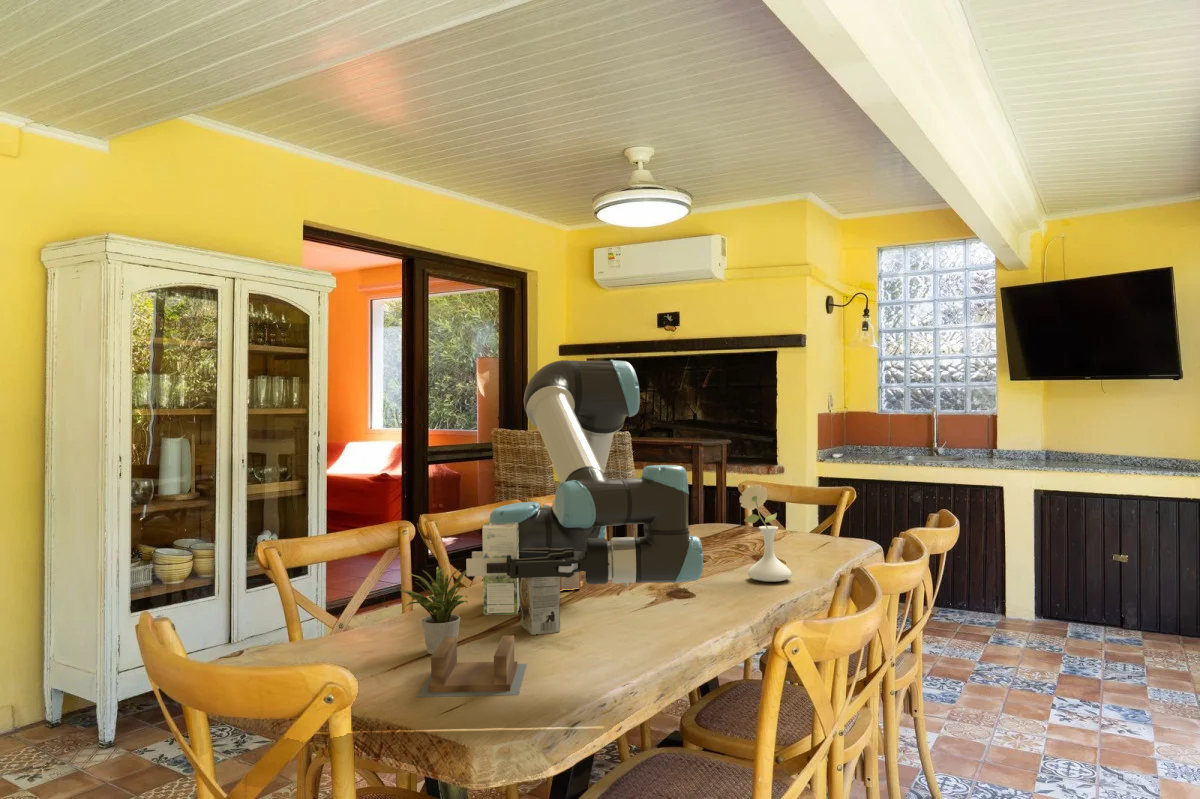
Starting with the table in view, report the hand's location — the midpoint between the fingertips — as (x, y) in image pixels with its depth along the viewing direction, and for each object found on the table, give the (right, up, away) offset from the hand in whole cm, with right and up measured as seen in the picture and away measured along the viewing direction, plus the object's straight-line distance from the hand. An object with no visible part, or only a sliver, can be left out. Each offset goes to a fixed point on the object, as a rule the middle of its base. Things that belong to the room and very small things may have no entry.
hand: (469, 563), depth 135 cm
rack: (+1, -19, 0) cm, 19 cm away
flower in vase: (+65, -20, +76) cm, 102 cm away
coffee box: (+9, -20, +33) cm, 40 cm away
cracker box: (+12, -21, +74) cm, 78 cm away
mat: (+1, -20, 0) cm, 20 cm away
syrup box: (+5, -8, 0) cm, 10 cm away
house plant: (-8, -20, +19) cm, 29 cm away
